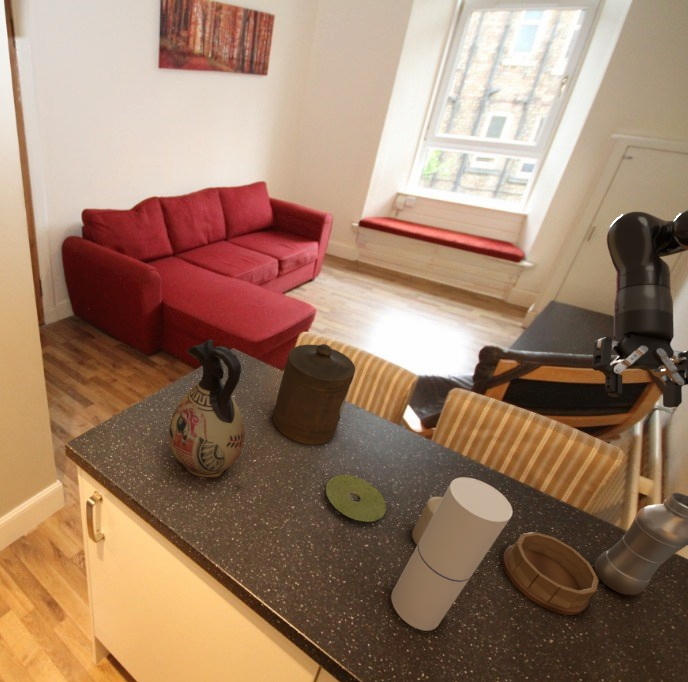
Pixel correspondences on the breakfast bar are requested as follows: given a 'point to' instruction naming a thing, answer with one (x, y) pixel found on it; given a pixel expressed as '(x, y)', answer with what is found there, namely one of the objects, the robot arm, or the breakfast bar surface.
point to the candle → (425, 518)
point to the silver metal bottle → (645, 546)
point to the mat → (355, 498)
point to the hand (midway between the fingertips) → (642, 401)
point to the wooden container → (312, 393)
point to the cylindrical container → (450, 551)
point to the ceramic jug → (209, 416)
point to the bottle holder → (550, 573)
